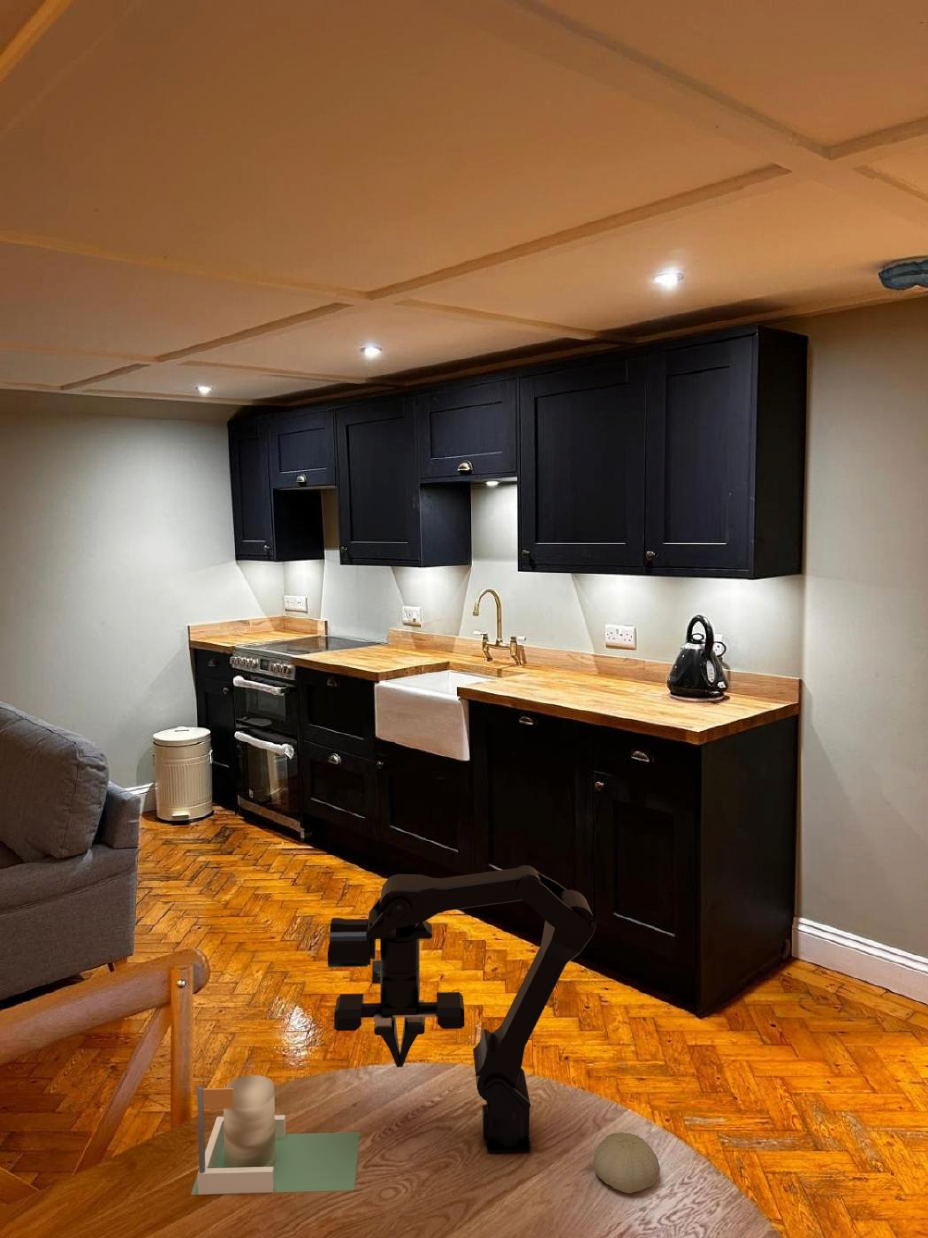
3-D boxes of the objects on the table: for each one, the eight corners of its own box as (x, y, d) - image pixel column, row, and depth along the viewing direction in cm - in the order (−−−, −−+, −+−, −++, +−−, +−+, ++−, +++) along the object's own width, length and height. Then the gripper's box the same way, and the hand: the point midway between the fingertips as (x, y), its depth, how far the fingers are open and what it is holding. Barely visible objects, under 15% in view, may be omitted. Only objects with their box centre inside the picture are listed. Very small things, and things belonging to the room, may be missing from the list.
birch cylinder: (278, 1145, 135) (277, 1074, 134) (271, 1179, 128) (270, 1105, 127) (230, 1147, 135) (228, 1075, 133) (220, 1181, 128) (218, 1106, 126)
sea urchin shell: (654, 1138, 136) (660, 1127, 130) (657, 1201, 131) (664, 1193, 125) (591, 1134, 137) (594, 1123, 130) (592, 1196, 132) (595, 1188, 125)
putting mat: (359, 1138, 138) (359, 1132, 138) (354, 1197, 126) (354, 1190, 126) (210, 1142, 137) (210, 1136, 137) (190, 1201, 125) (190, 1194, 125)
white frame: (285, 1134, 137) (284, 1038, 136) (272, 1192, 126) (270, 1088, 124) (217, 1135, 137) (215, 1040, 135) (198, 1194, 125) (195, 1090, 123)
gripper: (461, 938, 143) (460, 1034, 145) (339, 940, 142) (340, 1036, 144) (465, 974, 132) (464, 1077, 134) (333, 976, 131) (334, 1080, 133)
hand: (399, 1065), depth 136 cm, fingers closed
